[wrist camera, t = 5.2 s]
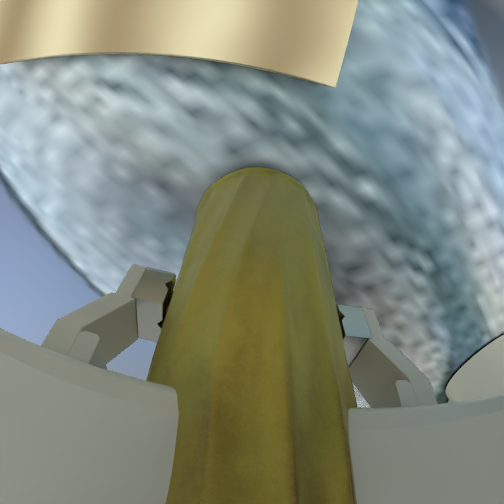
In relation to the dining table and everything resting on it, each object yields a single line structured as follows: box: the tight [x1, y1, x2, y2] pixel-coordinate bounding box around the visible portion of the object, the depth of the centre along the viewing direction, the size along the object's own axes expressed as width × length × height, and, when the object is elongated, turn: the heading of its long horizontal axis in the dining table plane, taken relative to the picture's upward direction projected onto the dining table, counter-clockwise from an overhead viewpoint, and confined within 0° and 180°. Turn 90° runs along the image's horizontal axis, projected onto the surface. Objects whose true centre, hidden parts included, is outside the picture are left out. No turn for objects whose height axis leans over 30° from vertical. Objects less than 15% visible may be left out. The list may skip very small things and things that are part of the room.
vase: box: [146, 167, 357, 504], centre depth 9 cm, size 6×6×14 cm
